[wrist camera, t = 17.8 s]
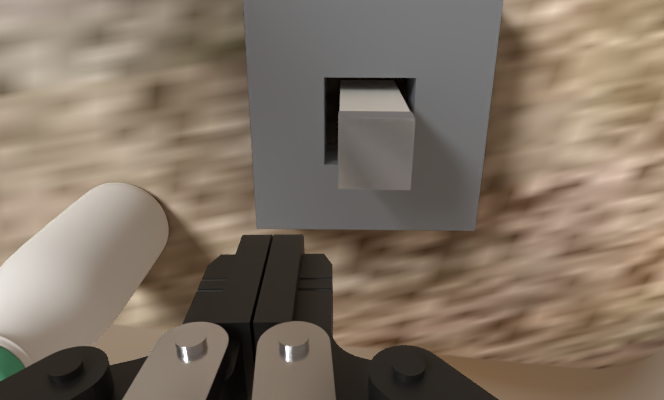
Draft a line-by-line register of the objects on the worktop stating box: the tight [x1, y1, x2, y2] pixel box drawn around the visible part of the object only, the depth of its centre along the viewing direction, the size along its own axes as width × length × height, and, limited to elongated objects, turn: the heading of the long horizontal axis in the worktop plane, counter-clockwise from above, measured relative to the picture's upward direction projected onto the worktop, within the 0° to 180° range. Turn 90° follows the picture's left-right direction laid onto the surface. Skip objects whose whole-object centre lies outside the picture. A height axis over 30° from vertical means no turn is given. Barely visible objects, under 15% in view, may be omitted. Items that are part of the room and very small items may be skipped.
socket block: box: [243, 0, 503, 231], centre depth 37 cm, size 16×16×5 cm
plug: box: [338, 80, 415, 190], centre depth 34 cm, size 4×4×12 cm
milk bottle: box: [0, 183, 169, 381], centre depth 34 cm, size 8×8×20 cm
